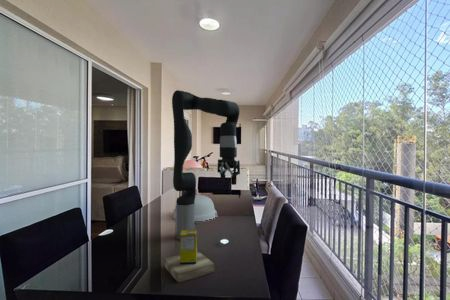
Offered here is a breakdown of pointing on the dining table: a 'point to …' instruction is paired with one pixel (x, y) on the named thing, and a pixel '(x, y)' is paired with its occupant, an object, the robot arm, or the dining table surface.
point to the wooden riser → (188, 267)
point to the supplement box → (188, 247)
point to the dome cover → (202, 208)
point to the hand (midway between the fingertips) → (228, 183)
